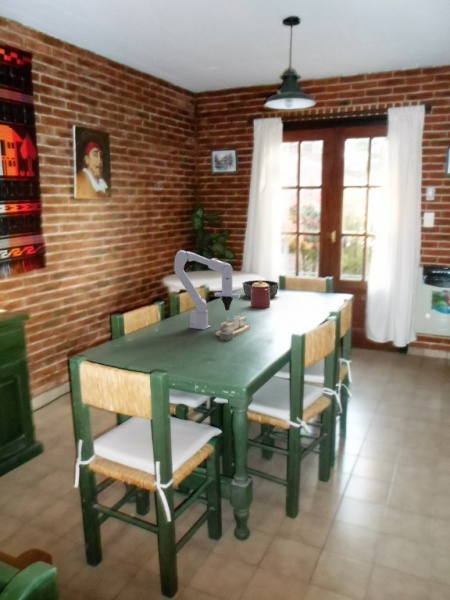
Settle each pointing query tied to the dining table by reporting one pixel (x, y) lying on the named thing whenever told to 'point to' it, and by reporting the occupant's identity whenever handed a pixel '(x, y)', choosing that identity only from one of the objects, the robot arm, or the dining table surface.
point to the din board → (230, 327)
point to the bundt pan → (272, 285)
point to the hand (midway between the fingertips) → (227, 310)
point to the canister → (260, 295)
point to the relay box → (226, 336)
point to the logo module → (234, 320)
